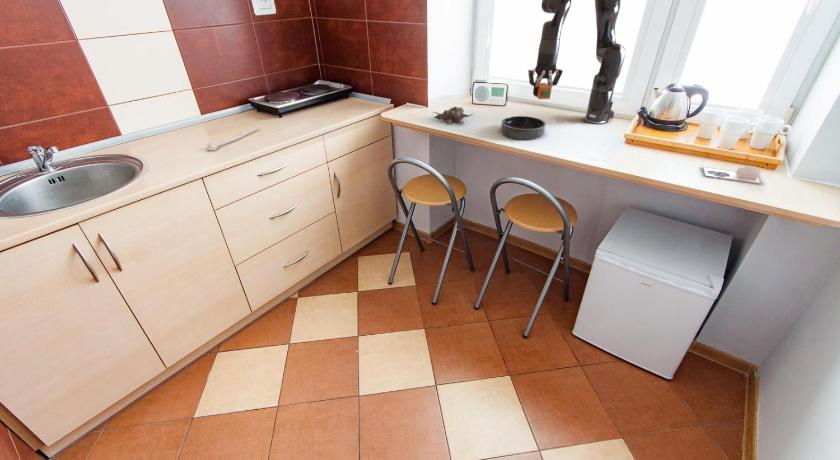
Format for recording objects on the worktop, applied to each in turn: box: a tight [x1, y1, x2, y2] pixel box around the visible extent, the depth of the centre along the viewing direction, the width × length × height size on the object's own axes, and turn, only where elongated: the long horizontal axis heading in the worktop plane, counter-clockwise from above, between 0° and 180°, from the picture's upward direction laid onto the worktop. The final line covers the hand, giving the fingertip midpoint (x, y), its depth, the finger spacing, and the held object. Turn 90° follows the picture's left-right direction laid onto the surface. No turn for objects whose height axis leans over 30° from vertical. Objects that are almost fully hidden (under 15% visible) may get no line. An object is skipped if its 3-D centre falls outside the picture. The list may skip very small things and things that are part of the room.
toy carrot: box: [535, 82, 553, 100], centre depth 160 cm, size 13×4×5 cm, turn 3°
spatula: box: [206, 127, 259, 152], centre depth 170 cm, size 28×4×3 cm, turn 158°
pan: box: [500, 115, 547, 141], centre depth 168 cm, size 19×19×4 cm
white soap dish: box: [703, 165, 762, 185], centre depth 128 cm, size 15×7×4 cm, turn 64°
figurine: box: [432, 106, 474, 125], centre depth 186 cm, size 20×6×17 cm
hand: (541, 95), depth 161 cm, fingers closed on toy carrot, 4 cm apart
